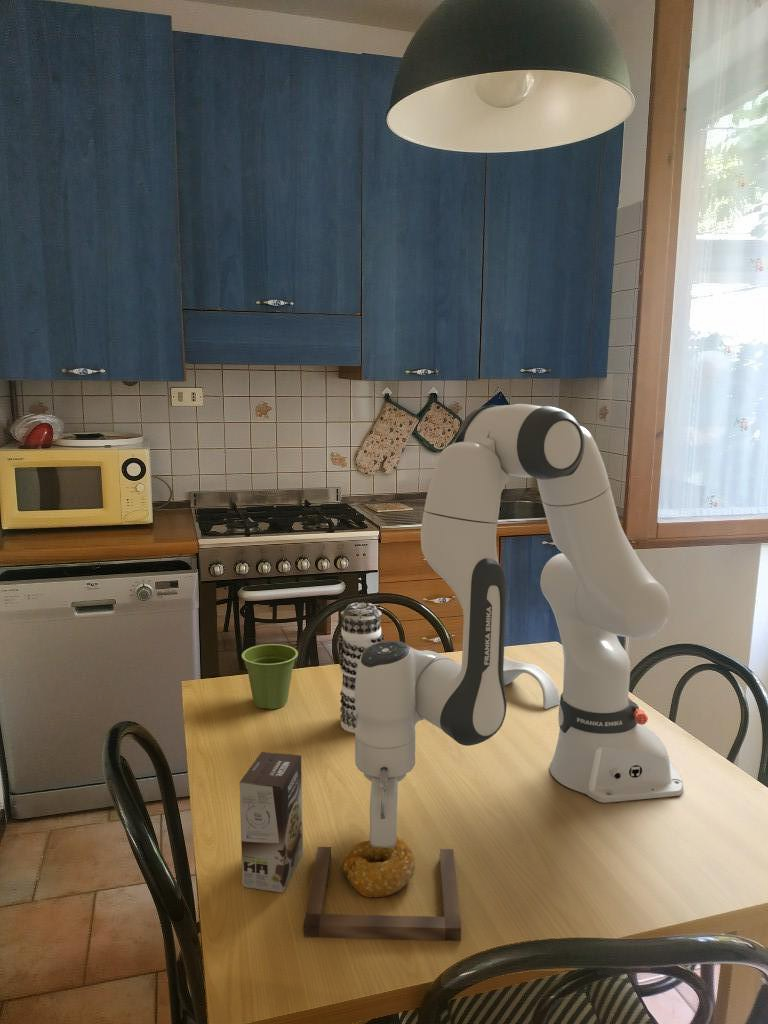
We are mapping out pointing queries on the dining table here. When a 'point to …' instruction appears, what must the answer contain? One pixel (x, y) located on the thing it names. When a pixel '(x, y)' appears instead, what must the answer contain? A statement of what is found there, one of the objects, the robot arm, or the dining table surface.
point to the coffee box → (271, 821)
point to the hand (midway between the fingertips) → (384, 837)
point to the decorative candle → (355, 653)
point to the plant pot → (270, 673)
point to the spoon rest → (548, 687)
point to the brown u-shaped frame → (382, 924)
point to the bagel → (378, 868)
